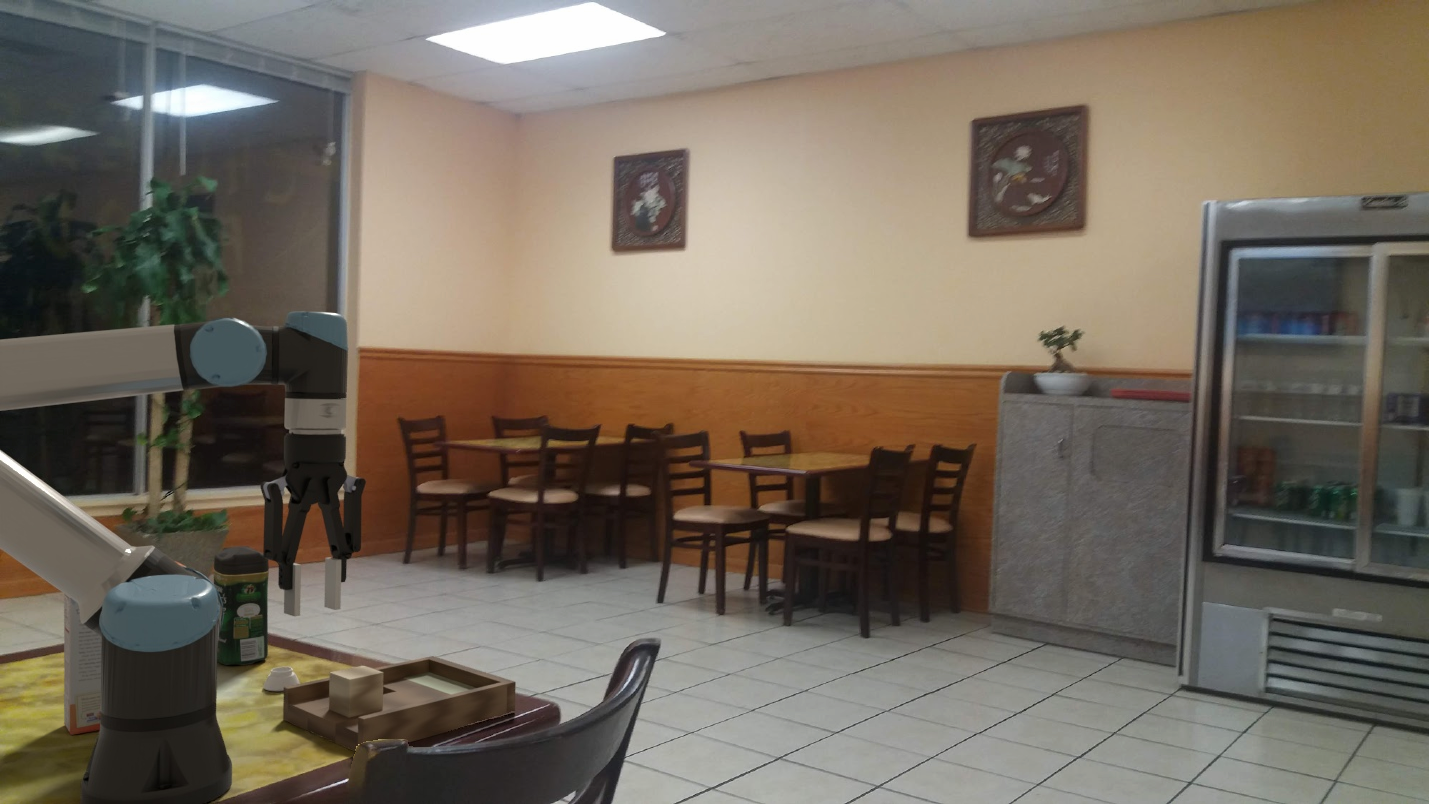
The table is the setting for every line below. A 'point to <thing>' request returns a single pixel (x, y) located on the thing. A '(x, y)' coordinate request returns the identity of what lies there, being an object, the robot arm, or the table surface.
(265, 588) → the coffee jar
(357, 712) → the maple cube
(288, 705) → the box
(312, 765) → the table surface
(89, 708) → the cracker box
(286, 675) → the white tapered collar
